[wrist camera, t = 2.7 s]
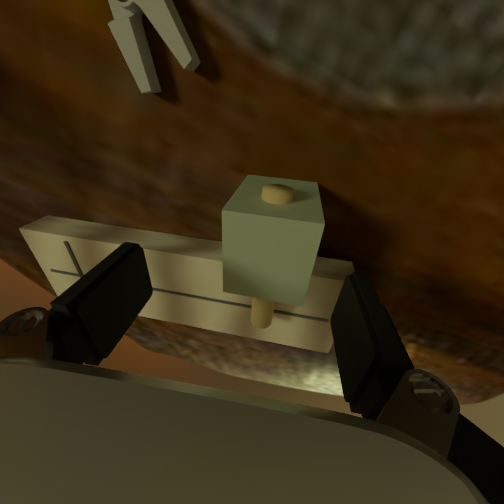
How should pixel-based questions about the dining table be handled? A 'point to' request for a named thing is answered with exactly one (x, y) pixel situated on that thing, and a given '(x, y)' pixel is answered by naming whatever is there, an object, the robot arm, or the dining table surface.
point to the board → (188, 280)
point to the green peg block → (271, 242)
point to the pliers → (135, 42)
